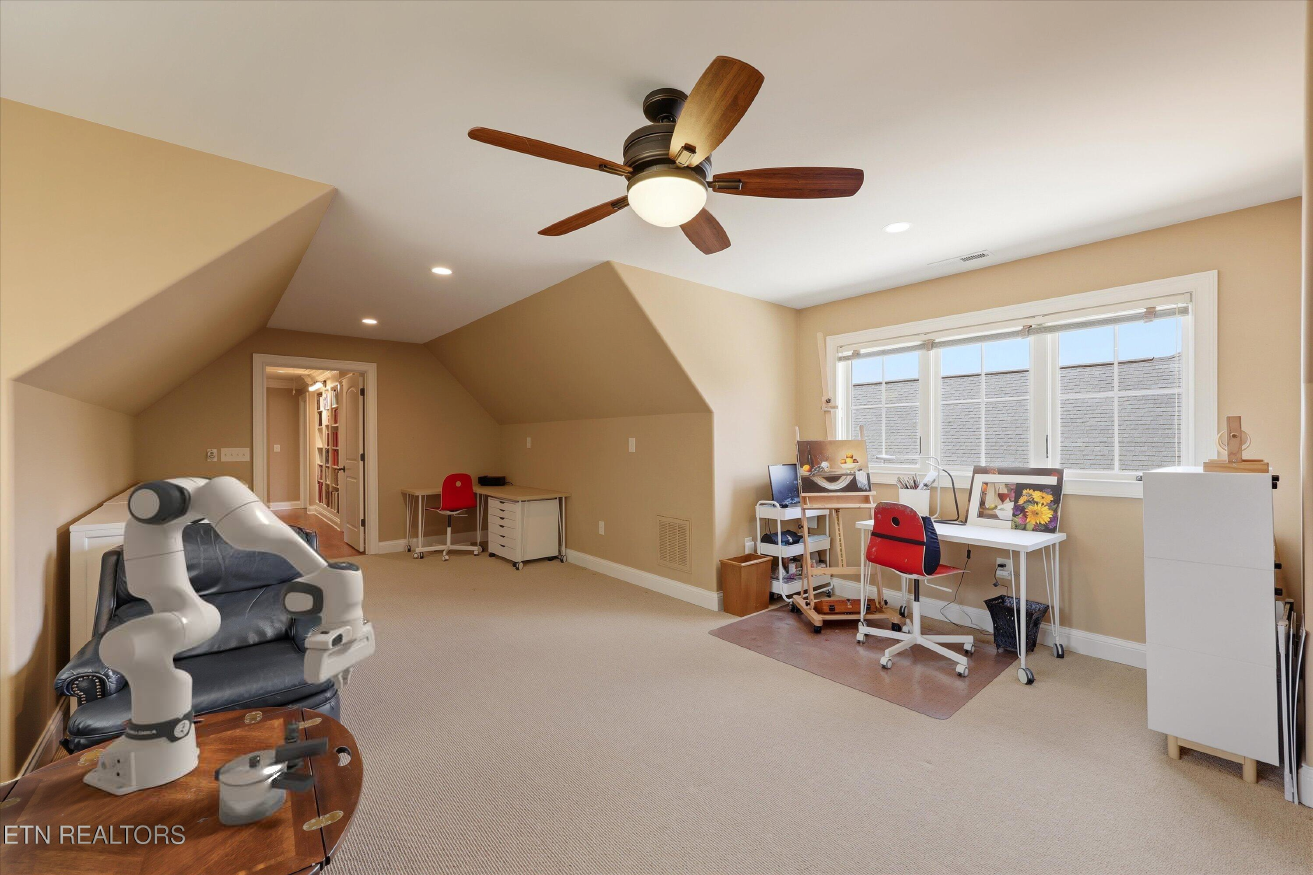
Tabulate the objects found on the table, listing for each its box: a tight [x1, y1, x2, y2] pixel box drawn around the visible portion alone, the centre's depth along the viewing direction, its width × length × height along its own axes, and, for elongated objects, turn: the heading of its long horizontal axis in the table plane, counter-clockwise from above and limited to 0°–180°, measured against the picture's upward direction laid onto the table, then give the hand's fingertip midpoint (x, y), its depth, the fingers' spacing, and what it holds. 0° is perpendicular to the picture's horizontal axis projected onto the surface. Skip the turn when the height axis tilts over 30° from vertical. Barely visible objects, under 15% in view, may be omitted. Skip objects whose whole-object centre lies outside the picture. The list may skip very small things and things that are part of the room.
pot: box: [214, 763, 316, 826], centre depth 125 cm, size 23×12×8 cm, turn 80°
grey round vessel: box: [283, 718, 305, 773], centre depth 141 cm, size 6×6×12 cm
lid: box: [218, 736, 329, 786], centre depth 127 cm, size 20×12×4 cm, turn 115°
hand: (341, 686), depth 138 cm, fingers closed
